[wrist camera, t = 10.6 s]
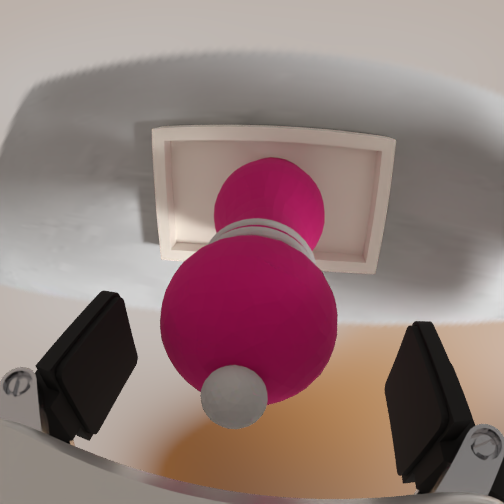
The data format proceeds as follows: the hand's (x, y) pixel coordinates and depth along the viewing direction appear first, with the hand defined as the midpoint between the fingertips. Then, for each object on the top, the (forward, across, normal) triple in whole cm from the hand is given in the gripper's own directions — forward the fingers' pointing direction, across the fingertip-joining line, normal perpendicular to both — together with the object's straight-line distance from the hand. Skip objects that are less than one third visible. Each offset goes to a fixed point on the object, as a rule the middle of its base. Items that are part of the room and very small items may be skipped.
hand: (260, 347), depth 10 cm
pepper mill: (+17, +1, 0) cm, 17 cm away
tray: (+18, +1, 0) cm, 18 cm away
